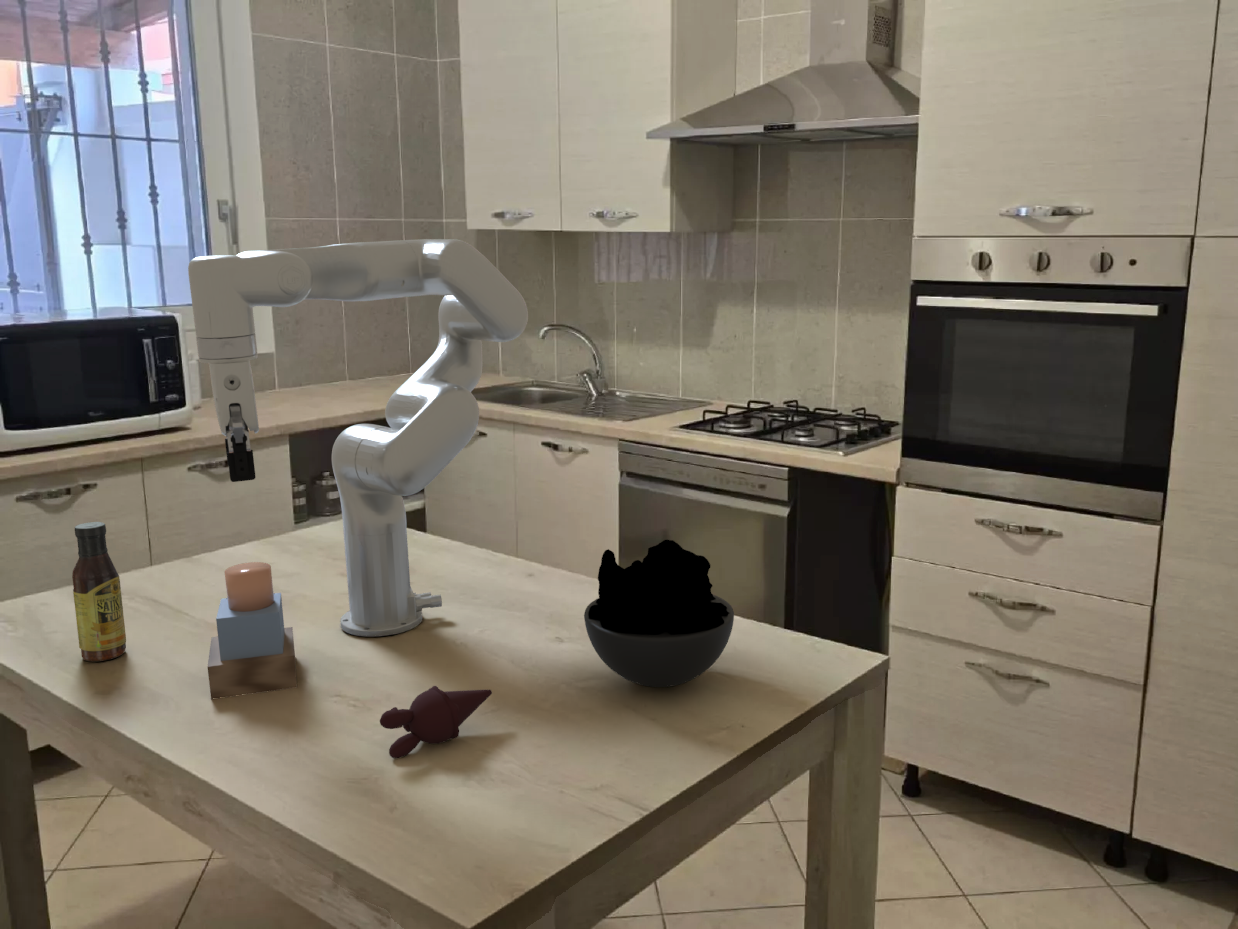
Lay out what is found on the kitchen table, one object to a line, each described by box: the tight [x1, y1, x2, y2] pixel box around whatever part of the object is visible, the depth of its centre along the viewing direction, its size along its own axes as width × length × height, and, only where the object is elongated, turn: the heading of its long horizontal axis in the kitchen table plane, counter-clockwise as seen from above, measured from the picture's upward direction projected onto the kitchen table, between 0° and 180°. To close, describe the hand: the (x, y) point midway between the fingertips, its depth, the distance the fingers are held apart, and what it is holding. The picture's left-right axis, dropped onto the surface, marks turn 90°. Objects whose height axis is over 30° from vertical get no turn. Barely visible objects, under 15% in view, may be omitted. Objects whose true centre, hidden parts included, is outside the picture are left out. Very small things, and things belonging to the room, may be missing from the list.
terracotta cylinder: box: [224, 561, 274, 612], centre depth 148 cm, size 6×6×5 cm
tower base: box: [207, 626, 298, 700], centre depth 150 cm, size 11×11×5 cm
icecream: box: [379, 685, 493, 759], centre depth 131 cm, size 7×7×15 cm
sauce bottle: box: [71, 521, 127, 663], centre depth 157 cm, size 6×6×20 cm
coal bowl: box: [583, 539, 735, 688], centre depth 145 cm, size 20×20×19 cm
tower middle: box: [215, 592, 285, 661], centre depth 149 cm, size 8×8×6 cm
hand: (241, 472), depth 149 cm, fingers open, 9 cm apart
